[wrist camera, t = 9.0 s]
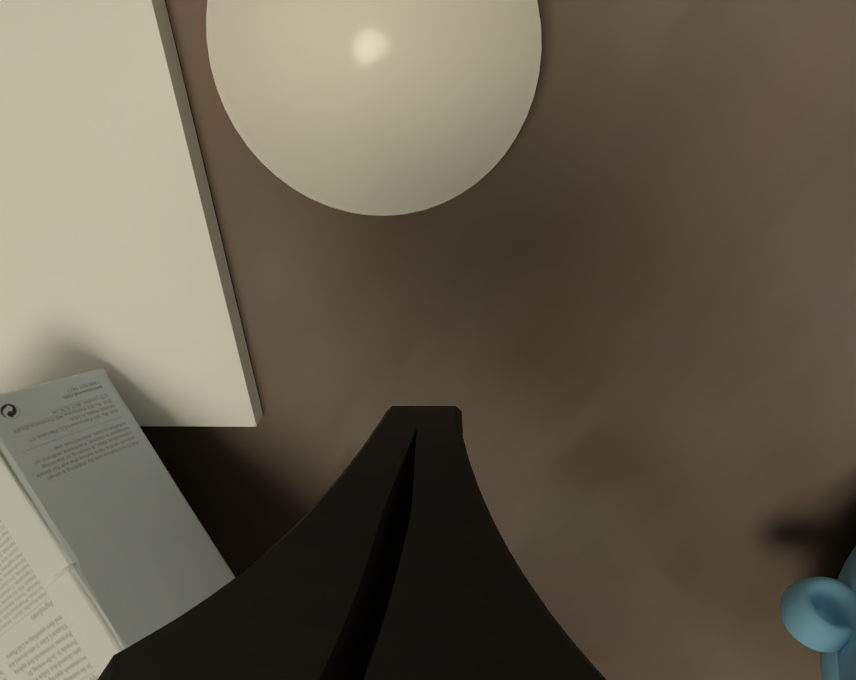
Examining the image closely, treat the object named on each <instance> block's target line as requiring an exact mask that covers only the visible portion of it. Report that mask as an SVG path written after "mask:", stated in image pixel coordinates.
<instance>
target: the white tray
mask: <svg viewBox="0 0 856 680" xmlns="http://www.w3.org/2000/svg"><path fill="white" fill-rule="evenodd" d="M97 369H105V370H106V373H107V376H108V377H109V379H110V381H111V382H112V384H113V385H114V387H115V389H116V390H117V392H118V394H119V395H120V397H121V398H122V400H123V401H124V403H125V405H126V406H127V408H128V409H129V411H130V412H131V414H132V415H133V417H134V418H135V420H136V422H137V423H138V425H139V426H214V427H257V425H258V423H259V421H260V419H261V417H262V415H263V413H262V408H261V404H260V400H259V396H258V391H257V387H256V383H255V379H254V375H253V370H252V366H251V362H250V358H249V354H248V349H247V345H246V341H245V337H244V333H243V328H242V324H241V320H240V316H239V311H238V307H237V303H236V299H235V295H234V290H233V286H232V282H231V278H230V274H229V269H228V265H227V261H226V257H225V253H224V248H223V244H222V240H221V236H220V232H219V227H218V223H217V219H216V215H215V210H214V206H213V202H212V198H211V194H210V189H209V185H208V181H207V177H206V173H205V168H204V164H203V160H202V156H201V152H200V147H199V143H198V139H197V135H196V130H195V126H194V122H193V118H192V114H191V109H190V105H189V101H188V97H187V93H186V88H185V84H184V80H183V76H182V72H181V67H180V63H179V59H178V55H177V50H176V46H175V42H174V38H173V34H172V29H171V25H170V21H169V17H168V13H167V8H166V4H165V0H0V394H1V393H5V392H9V391H14V390H18V389H22V388H26V387H30V386H34V385H38V384H42V383H46V382H50V381H54V380H58V379H62V378H66V377H70V376H74V375H78V374H81V373H85V372H89V371H93V370H97Z"/></svg>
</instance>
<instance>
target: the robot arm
mask: <svg viewBox="0 0 856 680" xmlns="http://www.w3.org/2000/svg"><path fill="white" fill-rule="evenodd" d="M97 680H606V679H605V678H604V677H603V676H602V674H601V673H600V672H599V671H598V670H597V669H596V668H595V667H594V666H593V664H592V663H591V662H590V661H589V660H588V659H587V658H586V657H585V655H584V654H583V653H582V652H581V651H580V649H579V648H578V647H577V646H576V645H575V644H574V642H573V641H572V640H571V639H570V638H569V636H568V635H567V634H566V633H565V631H564V630H563V629H562V627H561V626H560V625H559V624H558V622H557V621H556V620H555V619H554V617H553V616H552V615H551V613H550V612H549V611H548V609H547V608H546V606H545V605H544V603H543V602H542V600H541V599H540V598H539V596H538V595H537V593H536V592H535V590H534V589H533V588H532V586H531V585H530V583H529V582H528V580H527V579H526V577H525V576H524V574H523V573H522V571H521V570H520V568H519V566H518V565H517V563H516V561H515V560H514V558H513V556H512V555H511V553H510V551H509V549H508V548H507V546H506V544H505V542H504V540H503V539H502V537H501V535H500V533H499V531H498V529H497V527H496V525H495V523H494V521H493V519H492V517H491V515H490V513H489V510H488V508H487V506H486V504H485V501H484V499H483V497H482V495H481V492H480V490H479V487H478V485H477V482H476V479H475V476H474V473H473V470H472V468H471V465H470V462H469V459H468V455H467V452H466V448H465V443H464V439H463V431H462V411H461V410H459V409H458V408H457V407H456V406H392V407H391V408H390V409H389V410H388V411H387V412H386V413H385V415H384V417H383V418H382V420H381V421H380V423H379V424H378V426H377V427H376V429H375V430H374V432H373V433H372V434H371V436H370V437H369V439H368V440H367V442H366V443H365V444H364V446H363V447H362V448H361V450H360V451H359V453H358V454H357V455H356V456H355V458H354V459H353V460H352V462H351V463H350V464H349V465H348V467H347V468H346V469H345V471H344V472H343V473H342V474H341V476H340V477H339V478H338V479H337V480H336V482H335V483H334V484H333V485H332V486H331V487H330V488H329V490H328V491H327V492H326V493H325V494H324V495H323V496H322V498H321V499H320V500H319V501H318V502H317V503H316V504H315V506H314V507H313V508H312V509H311V510H310V511H309V512H308V513H307V514H306V515H305V516H304V517H303V518H302V519H301V520H300V521H299V522H298V523H297V524H296V525H295V526H294V527H293V528H292V529H291V530H290V531H289V532H288V533H287V534H286V535H285V536H284V537H283V538H282V539H281V540H279V541H278V542H277V543H276V544H275V545H274V546H273V547H272V548H270V549H269V550H268V551H267V552H266V553H265V554H263V555H262V556H261V557H260V558H259V559H258V560H256V561H255V562H254V563H253V564H252V565H250V566H249V567H248V568H247V569H246V570H244V571H243V572H242V573H241V574H239V575H238V576H237V577H236V578H234V579H233V580H232V581H230V582H229V583H228V584H226V585H225V586H223V587H222V588H221V589H219V590H218V591H217V592H215V593H214V594H212V595H211V596H210V597H208V598H207V599H205V600H204V601H202V602H201V603H199V604H198V605H196V606H195V607H193V608H192V609H190V610H189V611H187V612H186V613H184V614H183V615H181V616H180V617H178V618H176V619H175V620H173V621H172V622H170V623H168V624H167V625H165V626H163V627H161V628H160V629H158V630H156V631H155V632H153V633H151V634H150V635H148V636H146V637H144V638H143V639H141V640H139V641H138V642H136V643H134V644H133V645H131V646H129V647H127V648H126V649H124V650H122V651H120V652H118V653H117V654H115V655H113V657H112V658H111V660H110V661H109V663H108V664H107V666H106V667H105V669H104V670H103V672H102V673H101V675H100V676H99V678H98V679H97Z"/></svg>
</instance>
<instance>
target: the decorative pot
mask: <svg viewBox="0 0 856 680" xmlns="http://www.w3.org/2000/svg"><path fill="white" fill-rule="evenodd" d="M780 611H781V619H782V621H783V623H784V625H785V627H786V629H787V630H788V631H789V632H790V634H791V635H792V636H793V637H794V638H795V639H796V640H798V641H799V642H800V643H802V644H803V645H805V646H807V647H809V648H811V649H813V650H816V651H819V652H820V666H821V672H822V678H823V680H856V545H855V547H854V548H853V550H852V552H851V553H850V555H849V556H848V558H847V560H846V561H845V563H844V565H843V568H842V570H841V572H840V574H839V576H838V579H837V580H836V579H833V578H829V577H809V578H806V579H802V580H799V581H797V582H795V583H794V584H792V585H791V586H789V587H788V588H787V589H786V590H785V592H784V593H783V595H782V598H781V605H780Z"/></svg>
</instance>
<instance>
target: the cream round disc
mask: <svg viewBox="0 0 856 680" xmlns="http://www.w3.org/2000/svg"><path fill="white" fill-rule="evenodd" d="M206 31H207V46H208V53H209V60H210V66H211V69H212V73H213V77H214V80H215V84H216V88H217V90H218V93H219V95H220V98H221V100H222V103H223V105H224V108H225V110H226V112H227V114H228V116H229V117H230V119H231V121H232V123H233V125H234V127H235V129H236V130H237V132H238V133H239V134H240V136H241V137H242V139H243V140H244V142H245V143H246V145H247V146H248V147H249V149H250V150H251V151H252V152H253V153H254V154H255V155H256V157H257V158H258V159H259V160H260V161H261V162H262V163H263V164H264V165H265V166H266V167H267V168H268V169H269V170H270V171H271V172H272V173H273V174H275V175H276V176H277V177H278V178H279V179H281V180H282V181H283V182H285V183H286V184H288V185H289V186H290V187H292V188H293V189H295V190H296V191H298V192H300V193H302V194H303V195H305V196H307V197H309V198H310V199H313V200H315V201H317V202H320V203H322V204H324V205H327V206H329V207H332V208H336V209H339V210H343V211H346V212H351V213H357V214H363V215H378V216H390V215H401V214H408V213H413V212H417V211H422V210H426V209H429V208H431V207H434V206H437V205H440V204H442V203H444V202H446V201H448V200H450V199H452V198H454V197H456V196H458V195H460V194H462V193H463V192H464V191H466V190H467V189H469V188H470V187H472V186H473V185H475V184H476V183H477V182H478V181H480V180H481V179H482V178H483V177H484V176H485V175H486V174H487V173H488V172H490V171H491V170H492V169H493V168H494V166H495V165H496V164H497V163H498V162H499V161H500V159H501V158H502V157H503V156H504V155H505V154H506V152H507V151H508V149H509V148H510V146H511V145H512V143H513V142H514V140H515V139H516V137H517V135H518V133H519V131H520V129H521V127H522V125H523V123H524V121H525V119H526V117H527V115H528V112H529V109H530V106H531V104H532V101H533V98H534V95H535V90H536V86H537V81H538V77H539V71H540V61H541V51H542V46H541V22H540V15H539V8H538V2H537V0H208V2H207V13H206Z"/></svg>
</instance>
